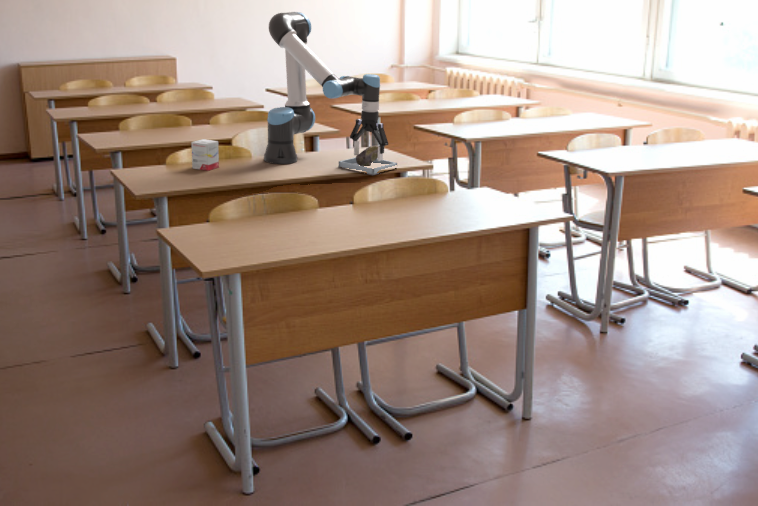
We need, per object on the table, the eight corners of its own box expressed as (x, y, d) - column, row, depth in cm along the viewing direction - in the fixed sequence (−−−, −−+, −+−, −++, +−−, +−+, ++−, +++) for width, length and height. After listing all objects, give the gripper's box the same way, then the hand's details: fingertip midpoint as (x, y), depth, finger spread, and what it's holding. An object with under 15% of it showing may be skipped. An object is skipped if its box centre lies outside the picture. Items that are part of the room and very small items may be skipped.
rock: (377, 164, 382) (378, 142, 378) (380, 169, 373) (381, 147, 369) (354, 163, 380) (355, 142, 377) (356, 169, 371) (357, 147, 368)
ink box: (219, 167, 366) (219, 140, 362) (207, 171, 359) (207, 144, 355) (203, 164, 369) (202, 138, 365) (191, 168, 362) (190, 141, 358)
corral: (338, 167, 375) (338, 161, 375) (363, 161, 389) (363, 155, 388) (372, 175, 364) (372, 169, 363) (396, 168, 377) (397, 162, 377)
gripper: (343, 107, 372) (341, 154, 379) (387, 115, 358) (384, 164, 365) (353, 105, 378) (352, 151, 385) (397, 113, 363) (395, 161, 371)
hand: (368, 157), depth 375 cm, fingers open, 13 cm apart
